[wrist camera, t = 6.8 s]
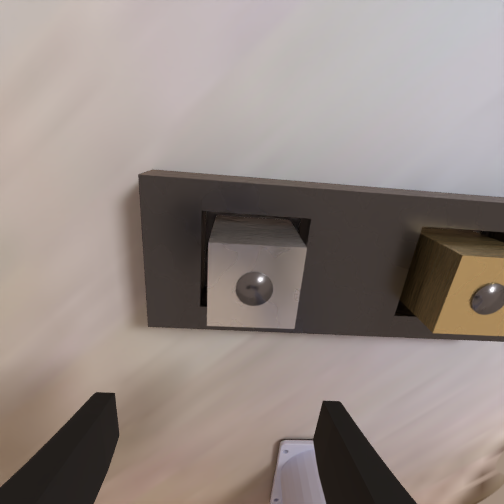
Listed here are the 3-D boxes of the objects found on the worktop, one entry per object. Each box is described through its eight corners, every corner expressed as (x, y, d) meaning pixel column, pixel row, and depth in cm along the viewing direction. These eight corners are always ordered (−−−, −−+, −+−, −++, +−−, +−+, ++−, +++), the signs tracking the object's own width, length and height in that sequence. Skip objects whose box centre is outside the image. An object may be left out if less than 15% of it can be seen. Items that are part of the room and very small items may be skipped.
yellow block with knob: (448, 290, 20) (513, 337, 15) (387, 287, 20) (433, 334, 15) (471, 230, 18) (552, 261, 14) (405, 225, 18) (464, 256, 13)
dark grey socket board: (486, 320, 21) (516, 342, 19) (158, 305, 19) (148, 326, 17) (542, 200, 18) (586, 209, 15) (152, 169, 16) (138, 174, 14)
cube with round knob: (281, 283, 19) (294, 330, 14) (214, 280, 19) (206, 327, 14) (289, 219, 18) (307, 248, 13) (216, 214, 17) (207, 243, 13)
